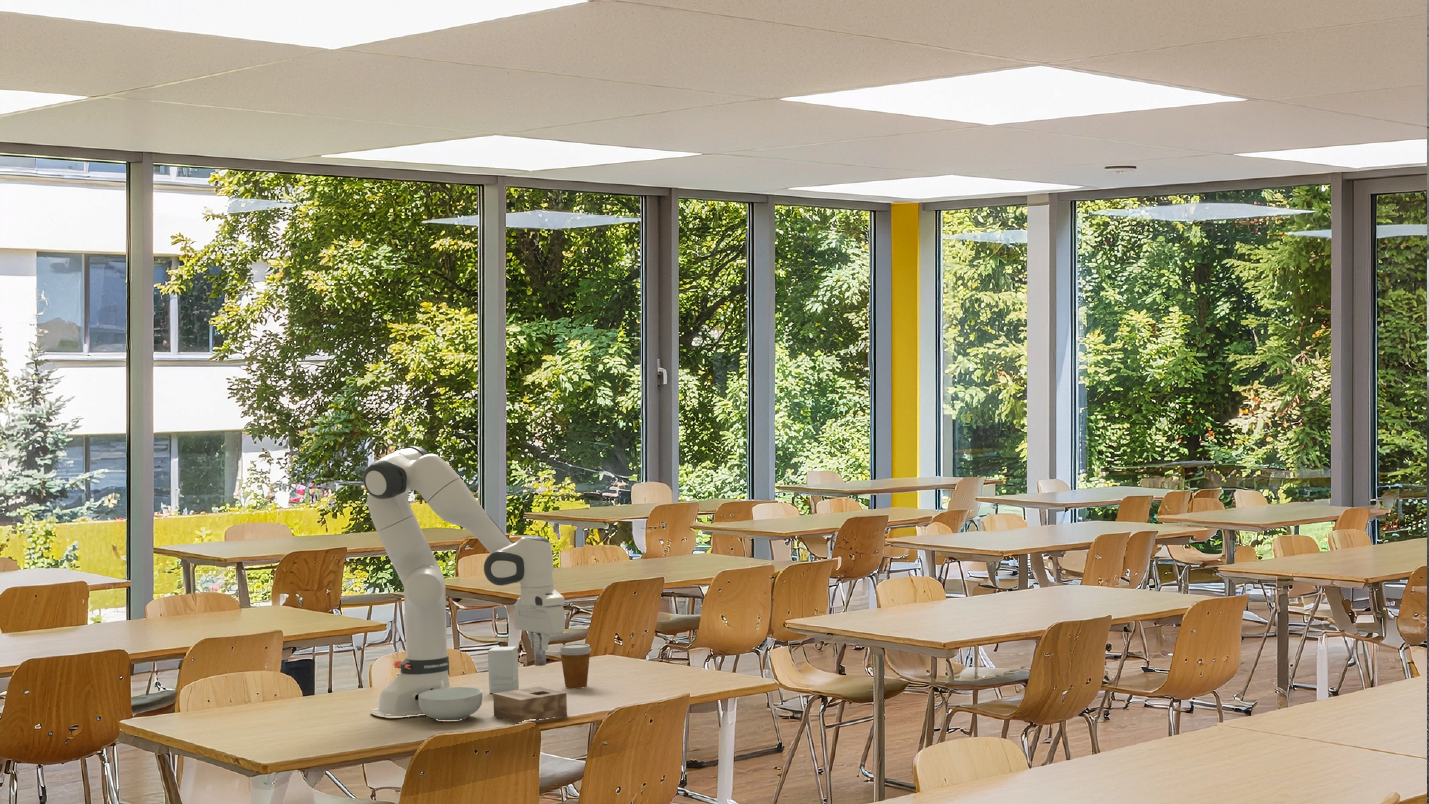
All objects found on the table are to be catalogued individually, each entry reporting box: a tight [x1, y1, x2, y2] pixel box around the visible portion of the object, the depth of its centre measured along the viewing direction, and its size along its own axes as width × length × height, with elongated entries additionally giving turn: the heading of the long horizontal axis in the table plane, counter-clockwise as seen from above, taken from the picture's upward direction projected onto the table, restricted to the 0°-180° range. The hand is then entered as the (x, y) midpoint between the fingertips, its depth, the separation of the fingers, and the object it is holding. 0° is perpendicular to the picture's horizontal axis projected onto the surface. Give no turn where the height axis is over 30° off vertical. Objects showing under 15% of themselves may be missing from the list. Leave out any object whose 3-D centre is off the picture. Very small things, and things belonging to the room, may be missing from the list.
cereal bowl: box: [418, 686, 483, 720], centre depth 391 cm, size 17×17×7 cm
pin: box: [533, 632, 547, 667], centre depth 392 cm, size 3×3×10 cm
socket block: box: [492, 686, 568, 723], centre depth 392 cm, size 14×14×6 cm
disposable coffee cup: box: [558, 643, 592, 689], centre depth 436 cm, size 10×10×12 cm
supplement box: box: [487, 645, 520, 694], centre depth 431 cm, size 7×7×13 cm
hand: (539, 649), depth 392 cm, fingers closed on pin, 3 cm apart
